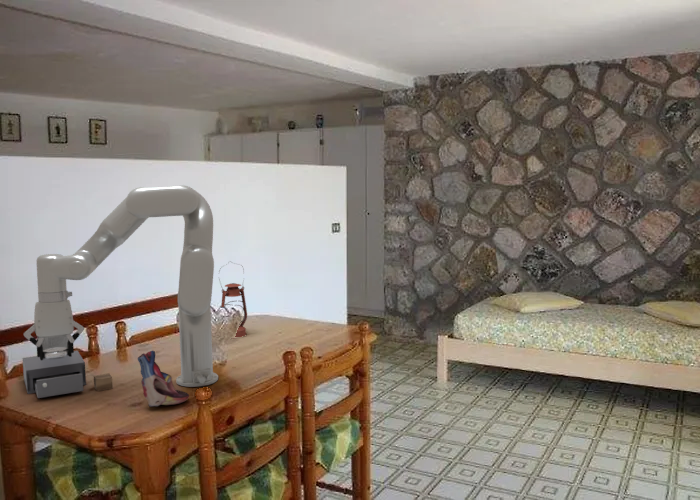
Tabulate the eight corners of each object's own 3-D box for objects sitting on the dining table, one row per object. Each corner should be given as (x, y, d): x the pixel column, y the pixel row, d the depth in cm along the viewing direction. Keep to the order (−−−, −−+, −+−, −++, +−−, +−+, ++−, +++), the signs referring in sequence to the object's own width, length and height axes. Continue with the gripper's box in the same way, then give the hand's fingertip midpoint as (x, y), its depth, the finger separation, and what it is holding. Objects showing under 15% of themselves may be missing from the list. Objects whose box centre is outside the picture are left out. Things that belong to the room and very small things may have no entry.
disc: (67, 351, 192) (66, 346, 192) (70, 357, 186) (69, 351, 186) (41, 354, 188) (41, 349, 188) (43, 360, 182) (43, 354, 182)
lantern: (241, 339, 250) (238, 262, 247) (216, 338, 252) (213, 262, 249) (250, 333, 260) (247, 259, 256) (226, 332, 262) (223, 259, 258)
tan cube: (112, 388, 192) (112, 377, 191) (96, 391, 190) (96, 379, 189) (109, 384, 196) (109, 373, 195) (94, 386, 193) (93, 375, 193)
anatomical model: (185, 410, 173) (183, 355, 171) (137, 411, 172) (134, 357, 170) (191, 398, 182) (188, 346, 181) (145, 400, 181) (143, 348, 180)
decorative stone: (45, 373, 208) (42, 328, 206) (34, 370, 211) (31, 326, 210) (75, 365, 217) (73, 321, 216) (64, 362, 220) (62, 319, 219)
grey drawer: (83, 391, 186) (82, 374, 186) (37, 398, 180) (36, 381, 180) (76, 377, 200) (75, 361, 199) (33, 384, 194) (32, 367, 193)
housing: (86, 384, 196) (84, 362, 195) (27, 393, 188) (26, 370, 187) (78, 371, 209) (77, 350, 209) (23, 379, 201) (22, 357, 201)
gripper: (83, 292, 193) (85, 350, 195) (18, 297, 184) (21, 358, 186) (86, 296, 186) (89, 356, 188) (19, 302, 178) (23, 364, 179)
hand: (55, 356), depth 187 cm, fingers closed on disc, 6 cm apart
